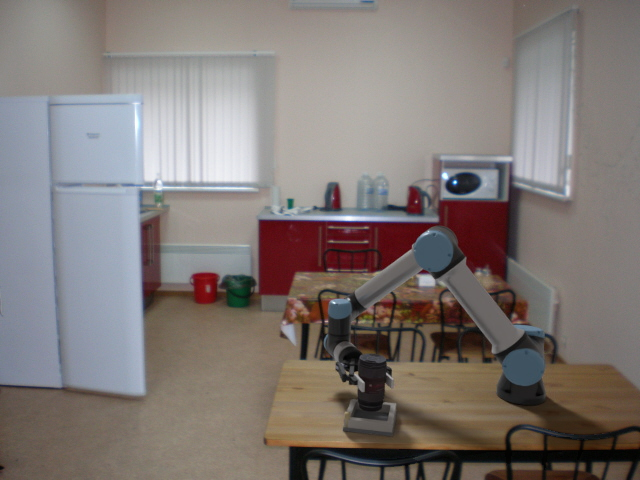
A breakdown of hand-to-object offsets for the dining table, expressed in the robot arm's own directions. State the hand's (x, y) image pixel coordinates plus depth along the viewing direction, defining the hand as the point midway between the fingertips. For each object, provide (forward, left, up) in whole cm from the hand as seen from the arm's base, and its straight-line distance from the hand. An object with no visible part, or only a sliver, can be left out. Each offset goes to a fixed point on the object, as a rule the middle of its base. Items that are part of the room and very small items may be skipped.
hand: (378, 385), depth 167 cm
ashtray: (+2, -4, -13) cm, 14 cm away
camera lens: (+2, -4, -9) cm, 10 cm away
